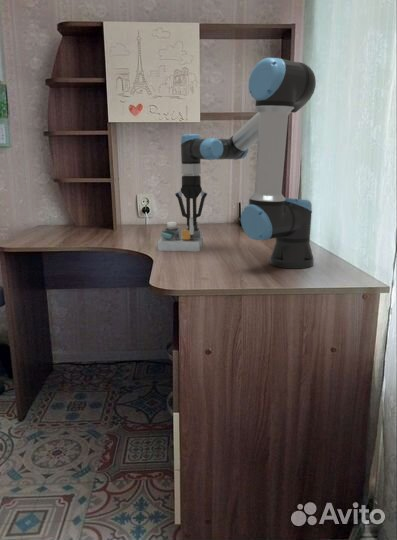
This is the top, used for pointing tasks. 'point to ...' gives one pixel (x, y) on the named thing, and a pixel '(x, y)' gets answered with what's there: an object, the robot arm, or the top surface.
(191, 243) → the panel
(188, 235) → the slider knob
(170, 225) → the button
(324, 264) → the top surface
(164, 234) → the teal rectangular block
